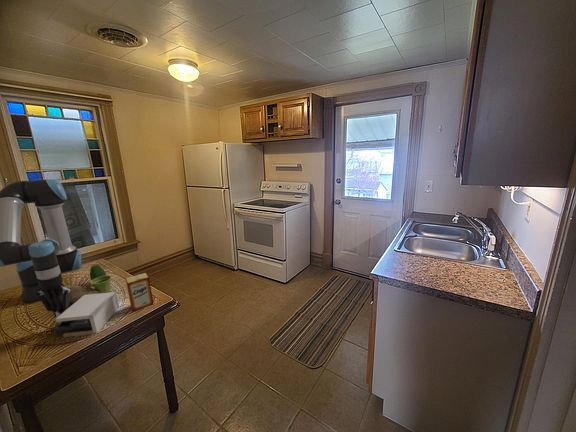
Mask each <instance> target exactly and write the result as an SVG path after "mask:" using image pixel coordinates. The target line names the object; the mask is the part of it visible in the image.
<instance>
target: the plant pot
mask: <svg viewBox="0 0 576 432" xmlns="http://www.w3.org/2000/svg"><path fill="white" fill-rule="evenodd" d="M111 281H112V276H111V275H106V276H101V277H98V278H95V279H93V280H91V281H90V284H91V285H92V286H93V289H96V290H97V291H98V294H100V293H110V292H112V287H111Z"/></svg>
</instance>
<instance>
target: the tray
mask: <svg viewBox="0 0 576 432" xmlns="http://www.w3.org/2000/svg"><path fill="white" fill-rule="evenodd" d="M90 330H93V329H92V326H91V322H90V319H80V320H71V321H62V322H61V323H60V324H58V323H57V325H56V326H55V327H54V328H53V331H54V333H55V335H62V334H64V333H71V332H80V331H90Z"/></svg>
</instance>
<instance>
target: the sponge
mask: <svg viewBox="0 0 576 432" xmlns="http://www.w3.org/2000/svg"><path fill="white" fill-rule="evenodd" d="M67 288H71V291H70V303H73V304H74V303H75V302H76V301H78V300H79V299H80V298H81V297H82V296H84V295H89V294H98V291H97V290H96V289H95V288H94V287H90V286H79V285H74V286H68V287H67ZM62 293H63V291H62ZM63 294H64V293H63ZM62 297H63V295H62Z"/></svg>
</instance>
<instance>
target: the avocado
mask: <svg viewBox="0 0 576 432" xmlns="http://www.w3.org/2000/svg"><path fill="white" fill-rule="evenodd" d="M106 272H107V271H105V269H104V268H103V267H102V266H101V265H99V264H93V265H92V266H91V267H90V270H89V278H90V280H91V281H92V280H93V279H95V278H98V277H101V276H107V273H106Z"/></svg>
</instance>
